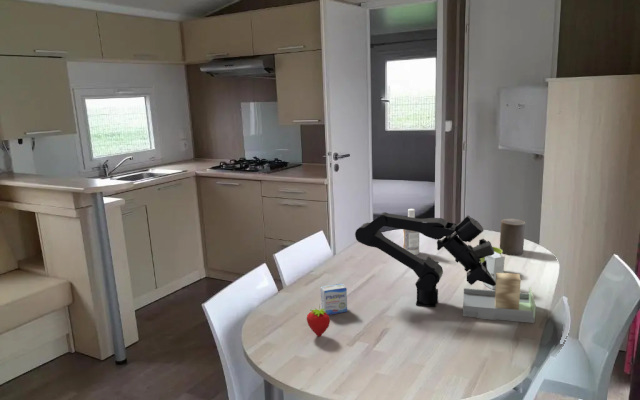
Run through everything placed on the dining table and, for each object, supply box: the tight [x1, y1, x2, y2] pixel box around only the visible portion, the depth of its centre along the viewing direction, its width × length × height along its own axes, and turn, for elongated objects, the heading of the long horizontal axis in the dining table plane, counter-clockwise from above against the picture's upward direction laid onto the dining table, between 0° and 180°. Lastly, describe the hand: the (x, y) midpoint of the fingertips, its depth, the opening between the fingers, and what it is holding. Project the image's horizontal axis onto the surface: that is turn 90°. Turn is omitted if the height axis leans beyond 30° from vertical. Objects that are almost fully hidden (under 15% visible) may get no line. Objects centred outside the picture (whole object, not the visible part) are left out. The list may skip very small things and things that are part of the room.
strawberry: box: [306, 305, 331, 337], centre depth 143 cm, size 6×8×10 cm
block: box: [494, 272, 522, 310], centre depth 153 cm, size 7×5×10 cm
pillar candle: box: [499, 218, 526, 256], centre depth 207 cm, size 10×10×15 cm
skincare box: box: [482, 252, 506, 290], centre depth 173 cm, size 6×4×12 cm
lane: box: [462, 286, 537, 324], centre depth 155 cm, size 21×14×6 cm, turn 73°
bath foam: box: [402, 208, 420, 256], centre depth 210 cm, size 7×7×20 cm
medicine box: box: [320, 283, 348, 316], centre depth 159 cm, size 8×4×9 cm, turn 105°
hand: (494, 284), depth 154 cm, fingers closed
